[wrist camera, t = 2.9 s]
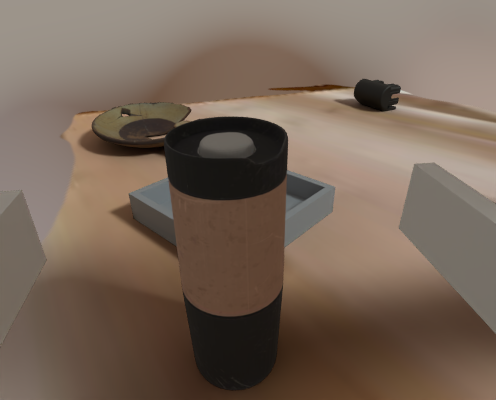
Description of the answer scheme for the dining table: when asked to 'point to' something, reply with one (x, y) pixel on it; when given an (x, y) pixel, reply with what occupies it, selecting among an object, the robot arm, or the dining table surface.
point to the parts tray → (296, 218)
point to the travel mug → (230, 241)
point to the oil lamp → (139, 123)
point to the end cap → (376, 94)
